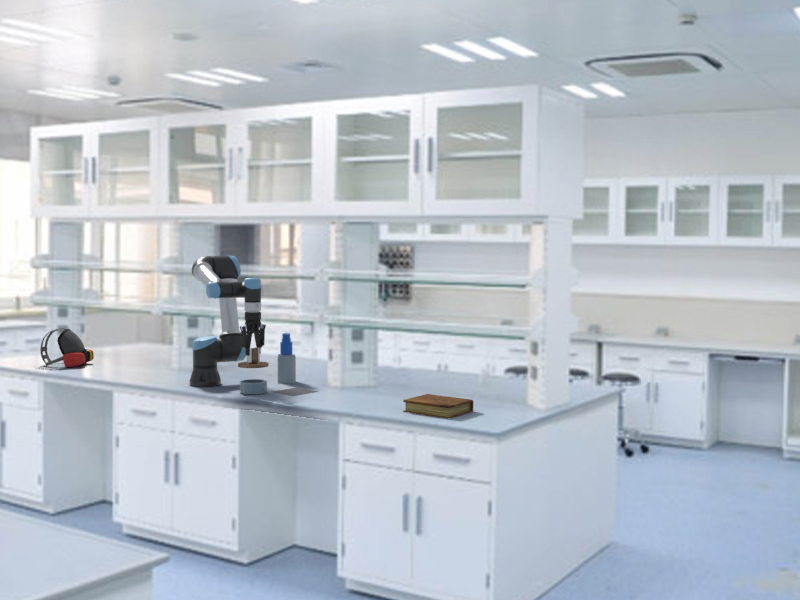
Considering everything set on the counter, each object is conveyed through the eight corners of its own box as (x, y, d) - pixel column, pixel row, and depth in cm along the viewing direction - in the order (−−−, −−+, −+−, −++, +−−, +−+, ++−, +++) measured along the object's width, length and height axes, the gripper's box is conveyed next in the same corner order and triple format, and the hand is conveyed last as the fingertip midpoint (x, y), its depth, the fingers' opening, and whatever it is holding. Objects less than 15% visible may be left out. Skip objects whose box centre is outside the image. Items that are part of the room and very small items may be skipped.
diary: (473, 413, 384) (473, 399, 384) (449, 420, 369) (449, 406, 369) (428, 406, 398) (428, 393, 397) (403, 412, 383) (403, 399, 382)
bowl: (234, 394, 422) (234, 381, 421) (255, 390, 431) (255, 378, 430) (251, 397, 414) (250, 384, 413) (271, 394, 423) (271, 381, 422)
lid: (231, 366, 421) (231, 348, 420) (255, 363, 431) (255, 345, 430) (250, 369, 411) (250, 351, 411) (274, 366, 421) (274, 348, 421)
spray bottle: (278, 382, 457) (278, 332, 455) (296, 382, 457) (296, 332, 455) (276, 385, 448) (276, 334, 446) (294, 385, 448) (294, 334, 446)
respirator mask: (84, 363, 497) (64, 322, 496) (46, 382, 499) (26, 341, 498) (99, 358, 519) (80, 318, 518) (63, 376, 521) (43, 336, 520)
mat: (270, 393, 425) (270, 391, 425) (296, 389, 436) (296, 387, 436) (293, 397, 414) (293, 395, 414) (319, 393, 425) (319, 391, 425)
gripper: (242, 313, 411) (243, 364, 412) (272, 310, 423) (272, 360, 425) (232, 312, 416) (233, 363, 417) (262, 309, 428) (262, 359, 430)
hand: (253, 361), depth 421 cm, fingers closed on lid, 4 cm apart
